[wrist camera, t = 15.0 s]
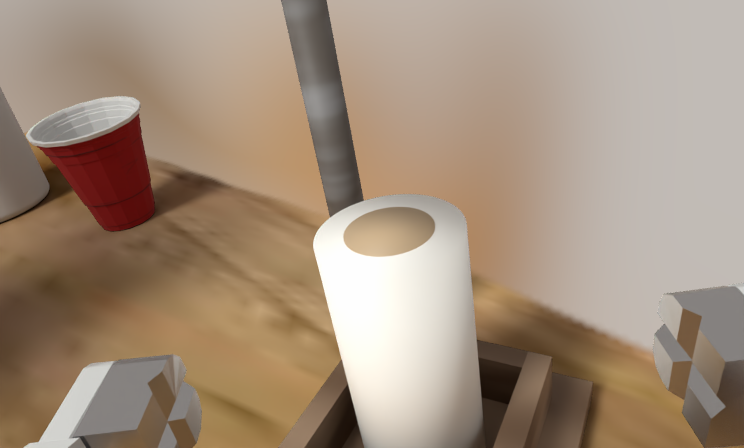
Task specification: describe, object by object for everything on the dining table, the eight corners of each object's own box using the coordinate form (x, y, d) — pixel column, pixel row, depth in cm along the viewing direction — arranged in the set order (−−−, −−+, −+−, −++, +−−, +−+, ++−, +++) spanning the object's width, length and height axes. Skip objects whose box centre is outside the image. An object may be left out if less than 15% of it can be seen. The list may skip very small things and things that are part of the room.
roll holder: (529, 679, 20) (512, 39, 9) (238, 534, 27) (10, 61, 15) (591, 397, 30) (622, -68, 19) (370, 342, 37) (293, -27, 25)
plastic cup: (58, 253, 55) (0, 143, 49) (98, 204, 65) (53, 106, 59) (163, 236, 55) (118, 123, 49) (188, 188, 64) (152, 89, 58)
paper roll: (462, 523, 24) (431, 287, 18) (346, 478, 27) (282, 261, 21) (500, 419, 29) (487, 199, 22) (397, 390, 31) (358, 188, 25)
